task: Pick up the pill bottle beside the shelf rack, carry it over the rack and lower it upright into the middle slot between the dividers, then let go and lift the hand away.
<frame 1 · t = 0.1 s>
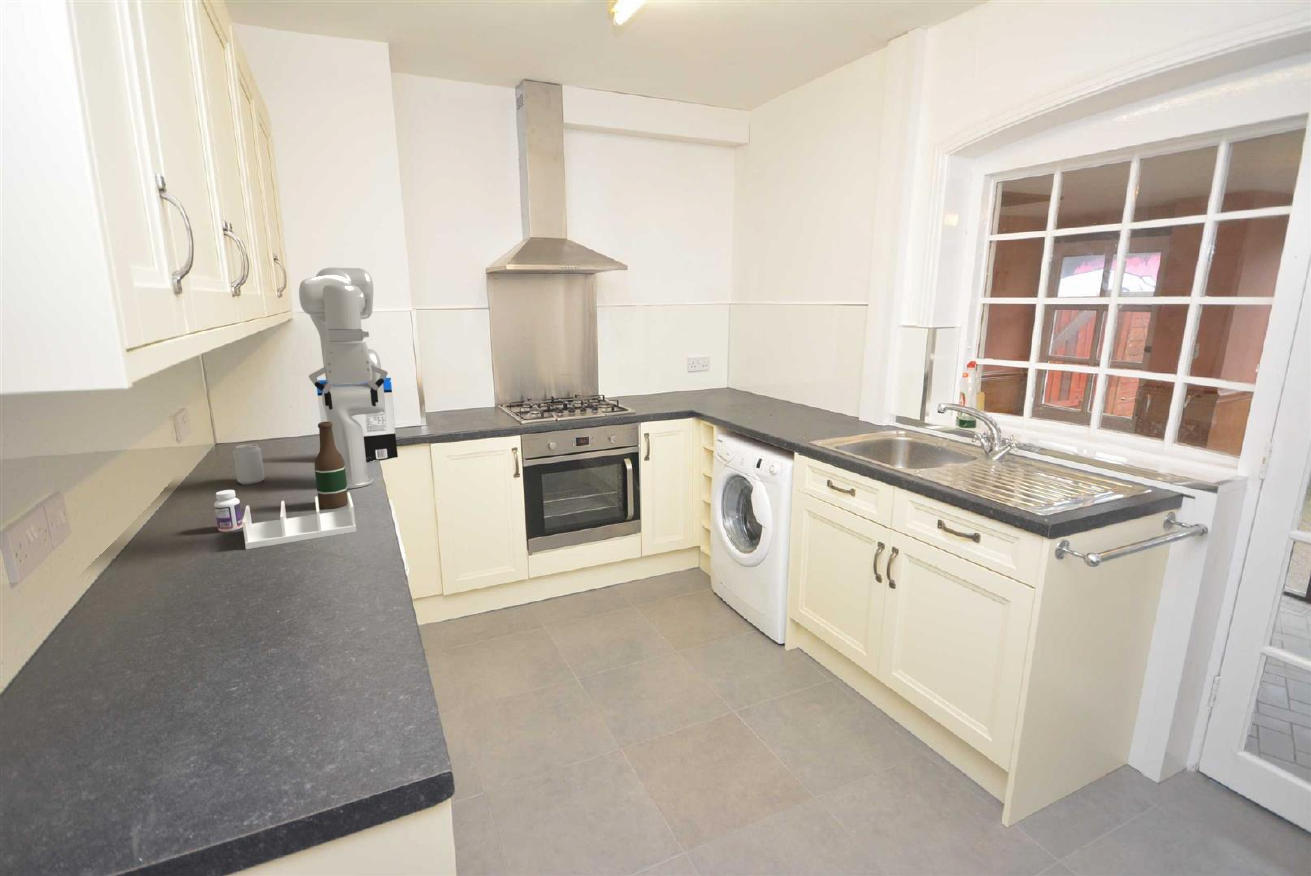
hand: (352, 407, 152), 31 cm above the worktop, tool pointing down, fingers open, 9 cm apart
pill bottle: (231, 529, 158), on the worktop
beer bottle: (334, 505, 177), on the worktop
shelf rack: (302, 530, 156), on the worktop
can: (251, 482, 200), on the worktop
protein powder: (362, 460, 228), on the worktop
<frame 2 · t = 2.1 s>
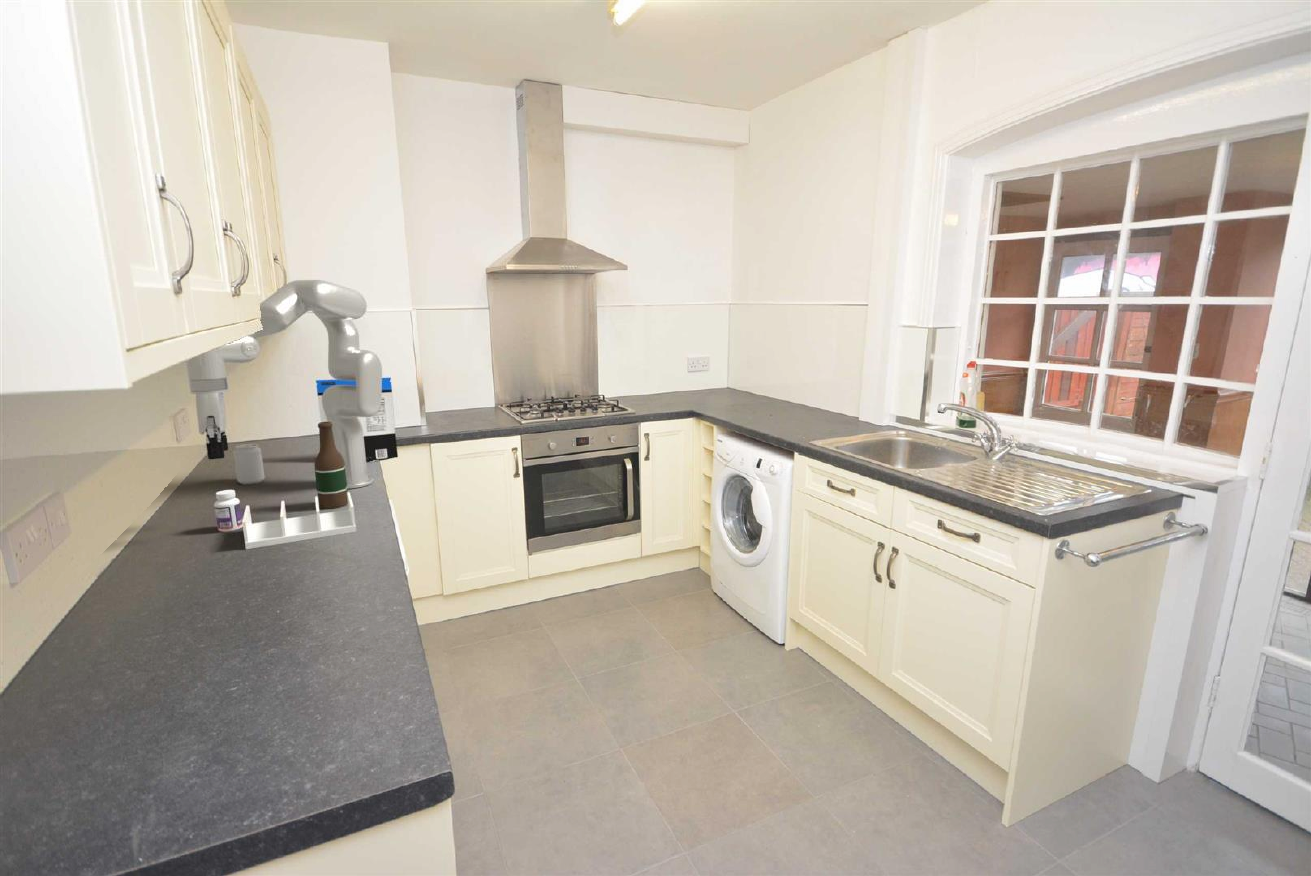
hand: (218, 454, 154), 19 cm above the worktop, tool pointing down, fingers open, 9 cm apart
nothing on the worktop moved.
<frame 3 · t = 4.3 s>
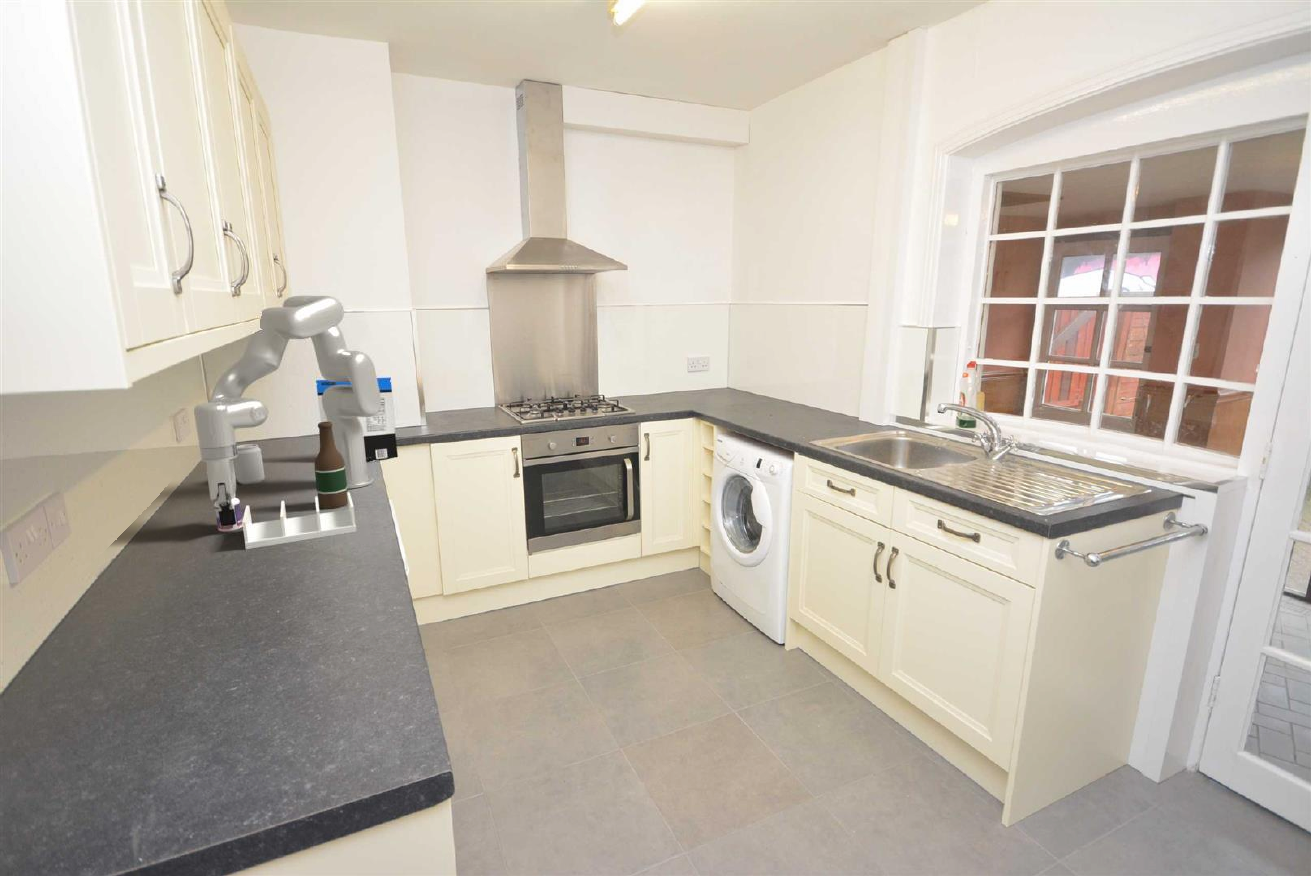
hand: (229, 520, 158), 2 cm above the worktop, tool pointing down, fingers closed on pill bottle, 5 cm apart
pill bottle: (230, 529, 158), on the worktop, touching gripper
everything else where it was.
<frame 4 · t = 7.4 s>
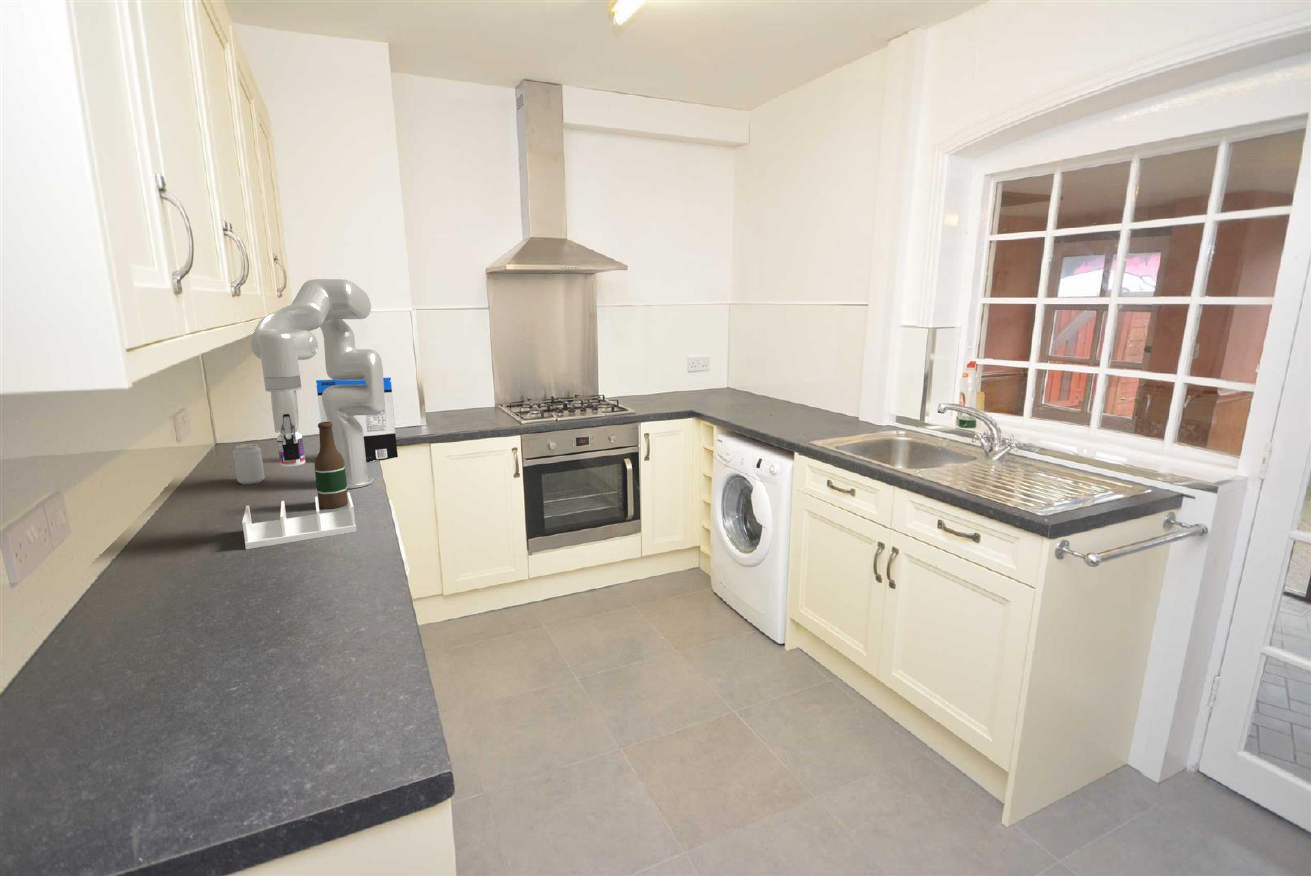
hand: (292, 456, 153), 19 cm above the worktop, tool pointing down, fingers closed on pill bottle, 5 cm apart
pill bottle: (293, 465, 153), point 17 cm above the worktop, touching gripper
everything else where it was.
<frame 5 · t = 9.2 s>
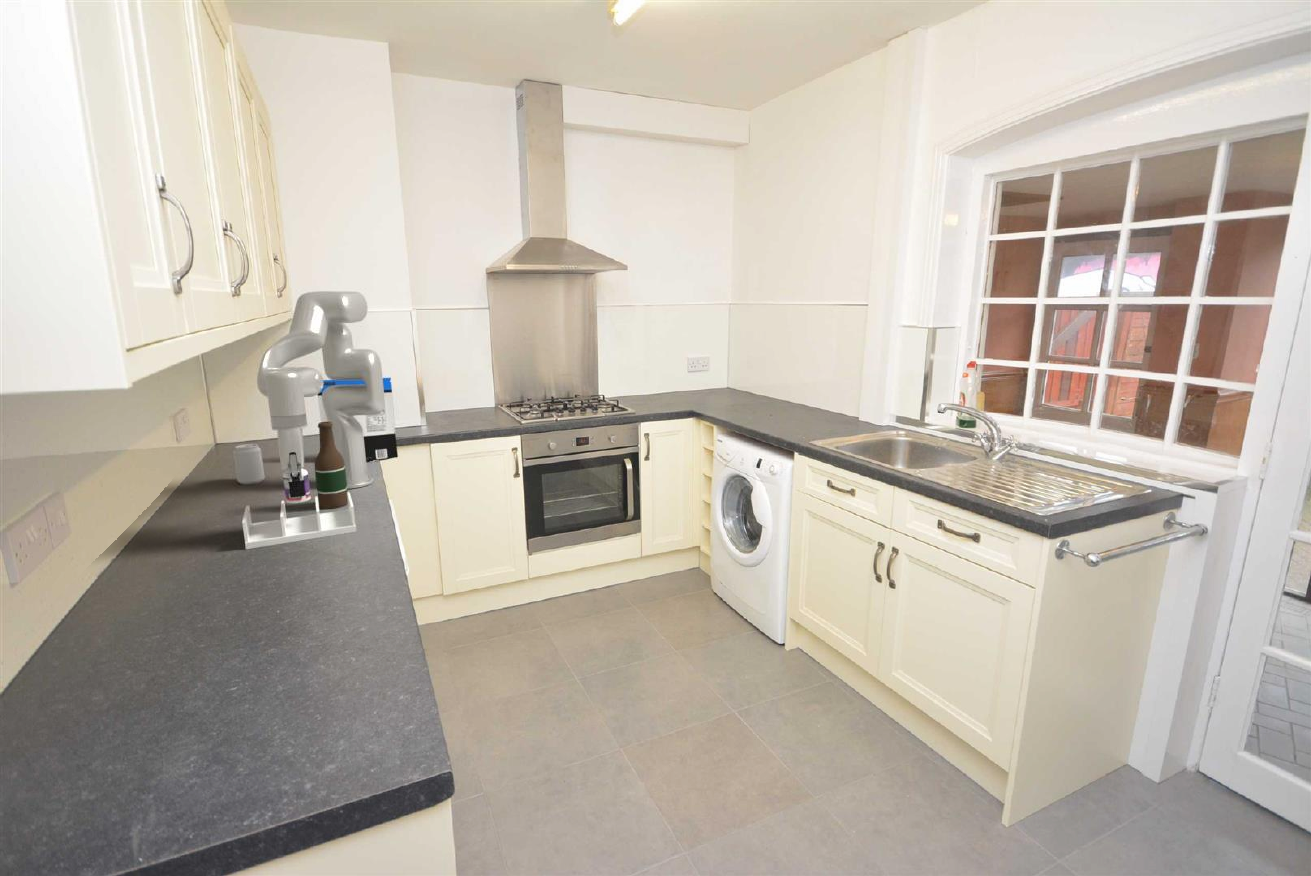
hand: (297, 492, 154), 10 cm above the worktop, tool pointing down, fingers closed on pill bottle, 5 cm apart
pill bottle: (298, 501, 155), point 8 cm above the worktop, touching gripper
everything else where it was.
when the fingers open (5 cm above the worktop, at t = 10.6 s): pill bottle drops 1 cm, resting on shelf rack.
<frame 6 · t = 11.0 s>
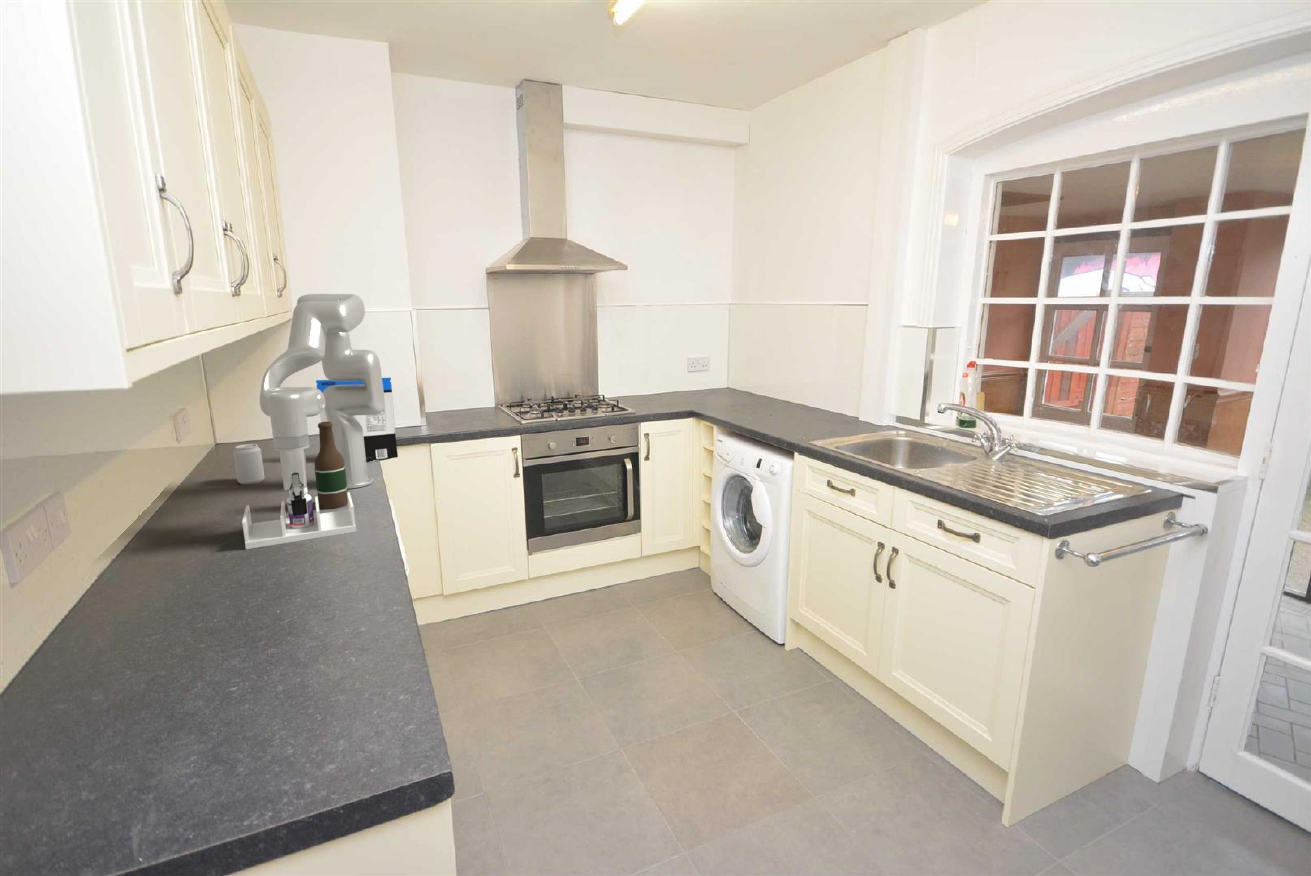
hand: (300, 509, 155), 6 cm above the worktop, tool pointing down, fingers open, 9 cm apart
pill bottle: (302, 525, 156), point 1 cm above the worktop, touching shelf rack
everything else where it was.
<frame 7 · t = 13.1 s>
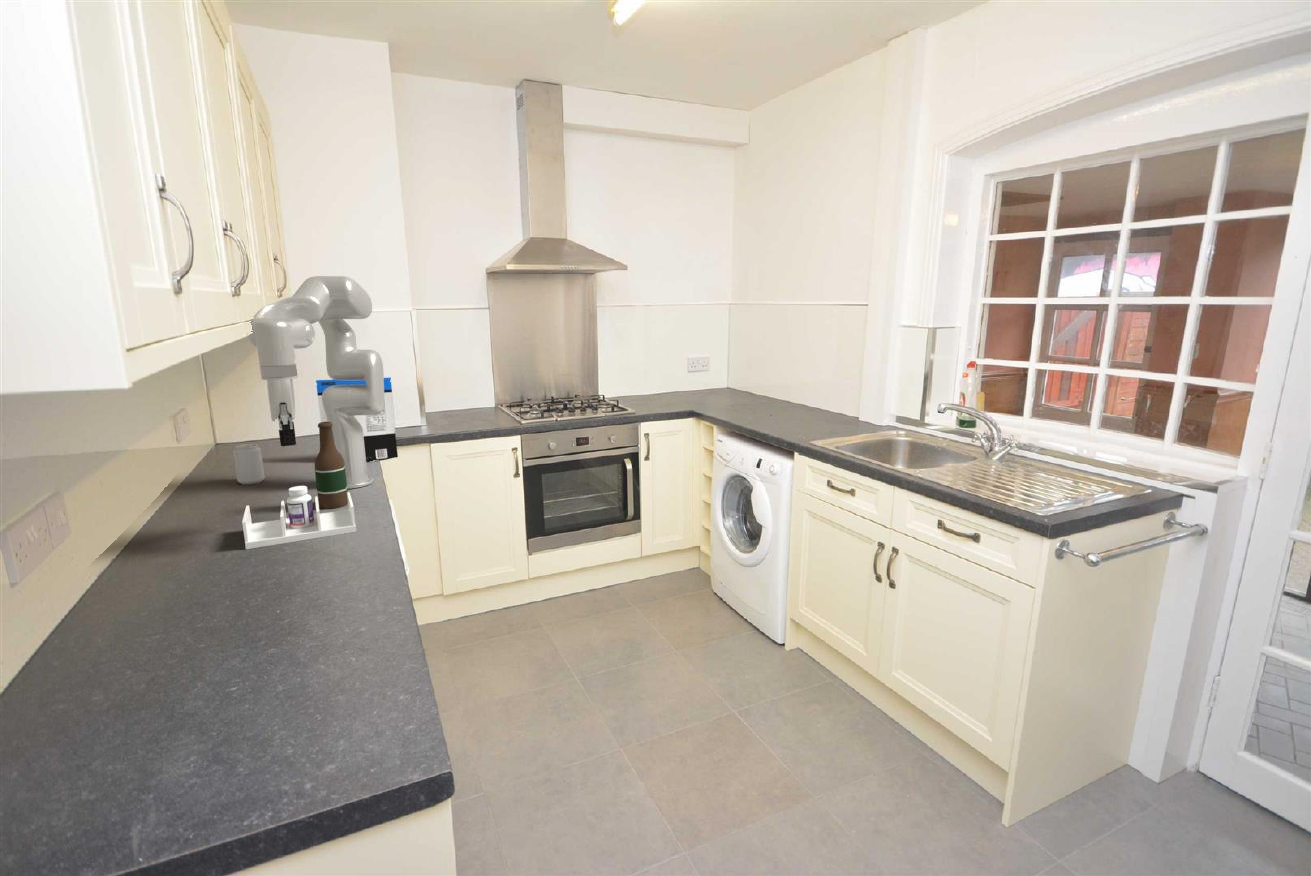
hand: (288, 441, 153), 23 cm above the worktop, tool pointing down, fingers open, 9 cm apart
nothing on the worktop moved.
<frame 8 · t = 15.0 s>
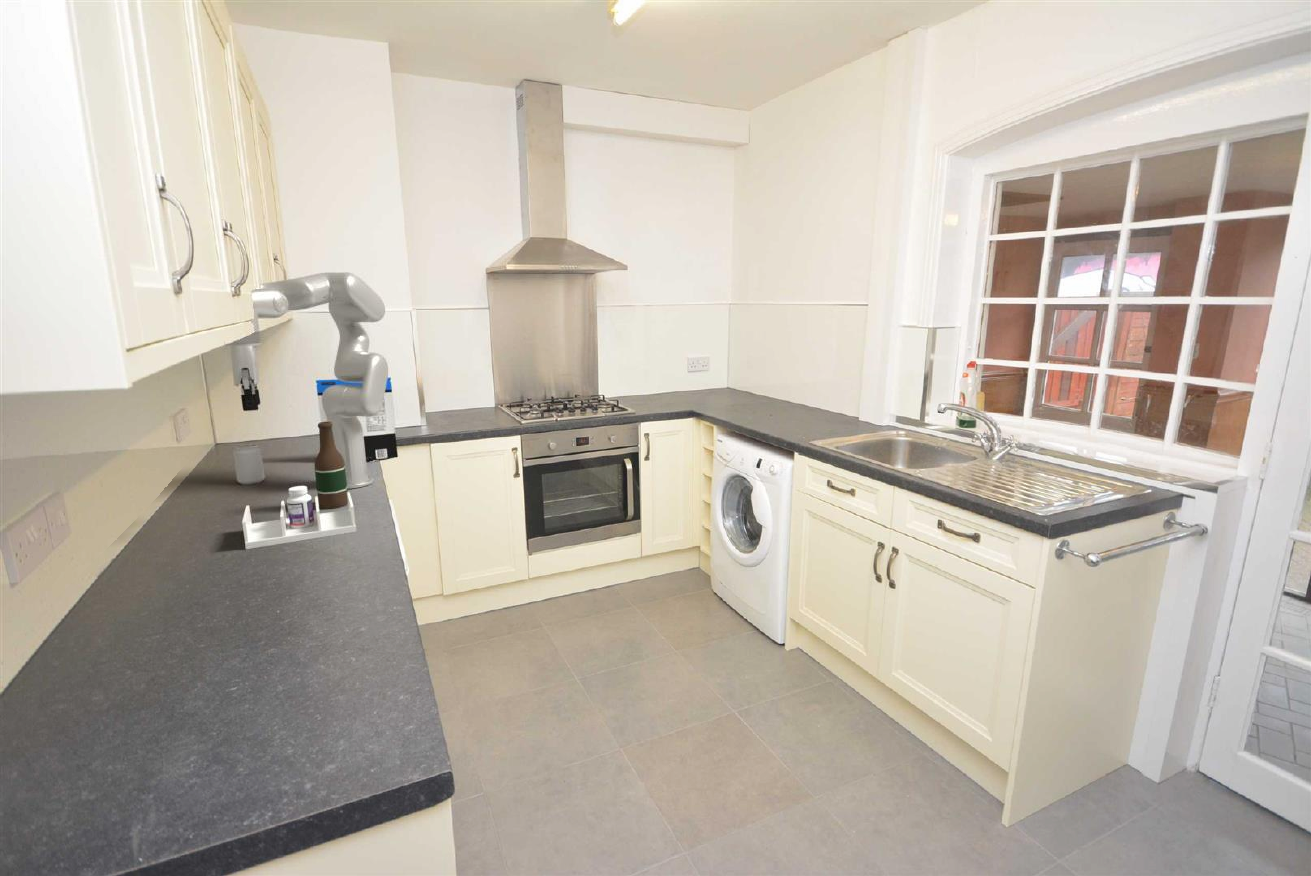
hand: (252, 407, 157), 30 cm above the worktop, tool pointing down, fingers open, 9 cm apart
nothing on the worktop moved.
at the end: pill bottle 0.0 cm off-centre on the shelf rack, point 1.3 cm above the shelf rack's base; pill bottle tilted 0°; the gripper is holding nothing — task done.
